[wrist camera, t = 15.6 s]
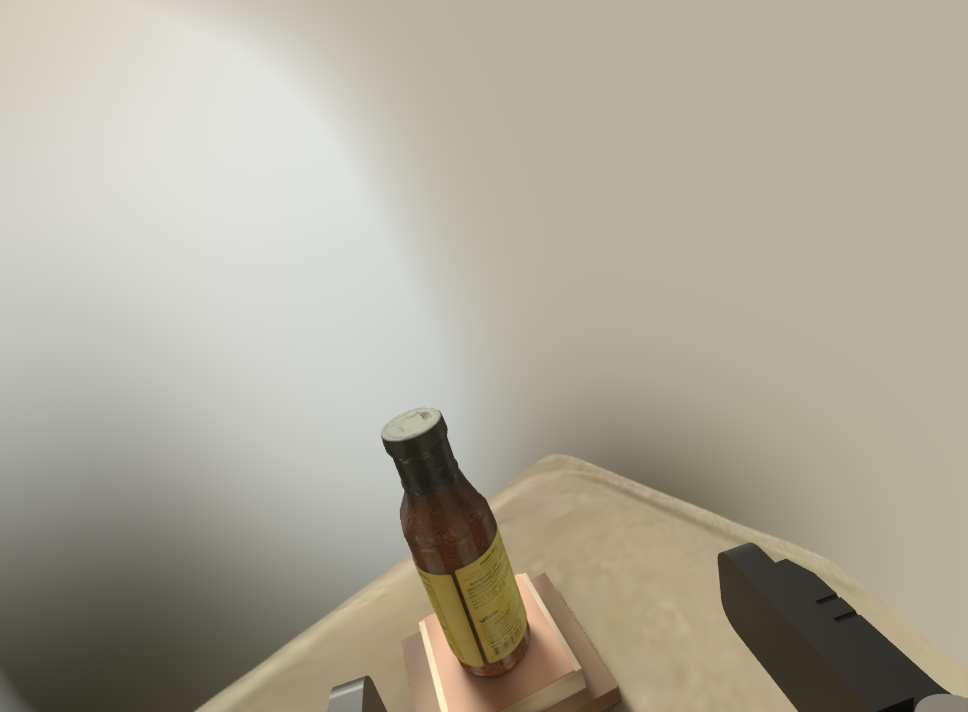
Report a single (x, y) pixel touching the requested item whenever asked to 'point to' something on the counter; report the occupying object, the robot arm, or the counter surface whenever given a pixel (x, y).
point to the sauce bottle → (456, 547)
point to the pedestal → (526, 686)
